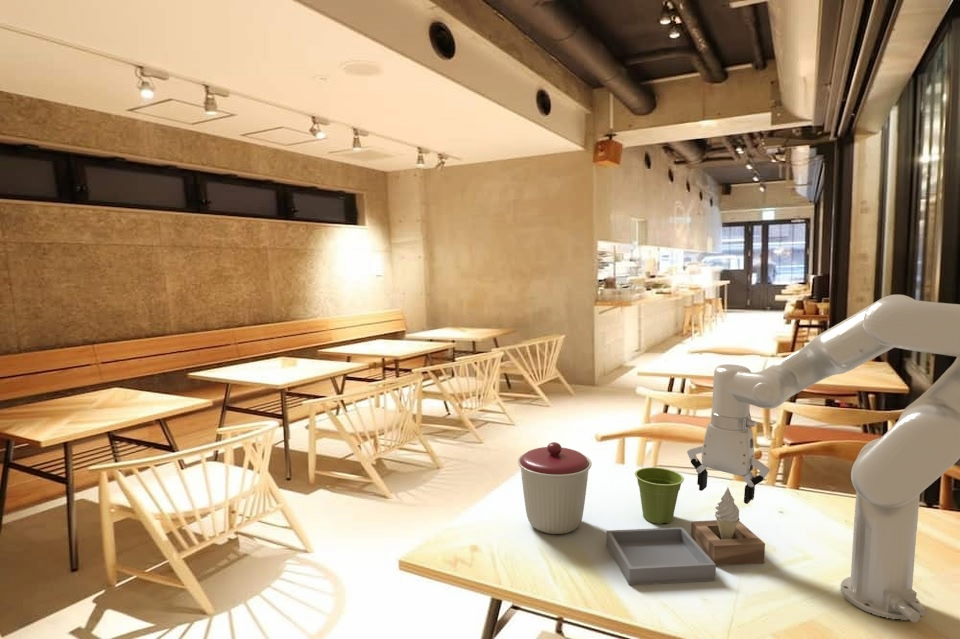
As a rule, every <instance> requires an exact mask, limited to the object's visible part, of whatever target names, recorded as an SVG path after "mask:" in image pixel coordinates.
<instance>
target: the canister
mask: <svg viewBox="0 0 960 639" xmlns="http://www.w3.org/2000/svg"><path fill="white" fill-rule="evenodd" d="M517 464H518V466H519V468H520V474H521V482H522V491H523V499H524V506H525V512H526V517H527V520H528V522H529V523H530V525H531V526H532V527H533V528H534V529H536V530H537V531H539V532H542V533H545V534H549V535H551V534H552V535H562V534H570V533H572V531H575V530H576V529H578V527H579V526H580V524H581V523H582V520H583V514H584V509H585V502H586V495H587V487H588V486H587V485H588V479H589V470H590V469H591V467H592V461H591V459H590V458H589V457H588V456H586V455H585V454H583V453H581V452H580V451H577V450H574V449H571V448H567V447H562V445H561V444H560V443H559V442H549V443H548V445H547V446H543V447H537V448H534V449H530V450H528V451H527V452H525V453H523V454H521V455H520V456H519V457H518V458H517Z"/></svg>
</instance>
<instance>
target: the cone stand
mask: <svg viewBox="0 0 960 639" xmlns="http://www.w3.org/2000/svg"><path fill="white" fill-rule="evenodd" d="M690 523H691V524H690V525H691V527H690V536H691V537H692V538H693V540H694V541H695V542H696V543H697V544H698V545H699V546H700V547H701V549H702V550H703V551H704V552H705V553H706V554H707V555H708V556H709V558H710V559H711V560H712V561H713V562H714V563H715V564H716V567H718V566H734V565H736V566H738V565H755V564H765V553H766V552H765V551H766V543H765V542H764V541H763V540H762V539H761V538H759V537H758V535H756V534H755V533H754V532H753V531H752V530H750V529H749V528H748V527H747V526H746V525H745V524H744V523H742V522H741V521H740V520H739V521H738V523H737V526H736V529H735V532H734V534H733V537H732V539H722V538H721V534H720V531H719V527H718V523H717V519H715V520H713V519H712V520H695V521H694V520H693V521H692V520H691V522H690Z"/></svg>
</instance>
